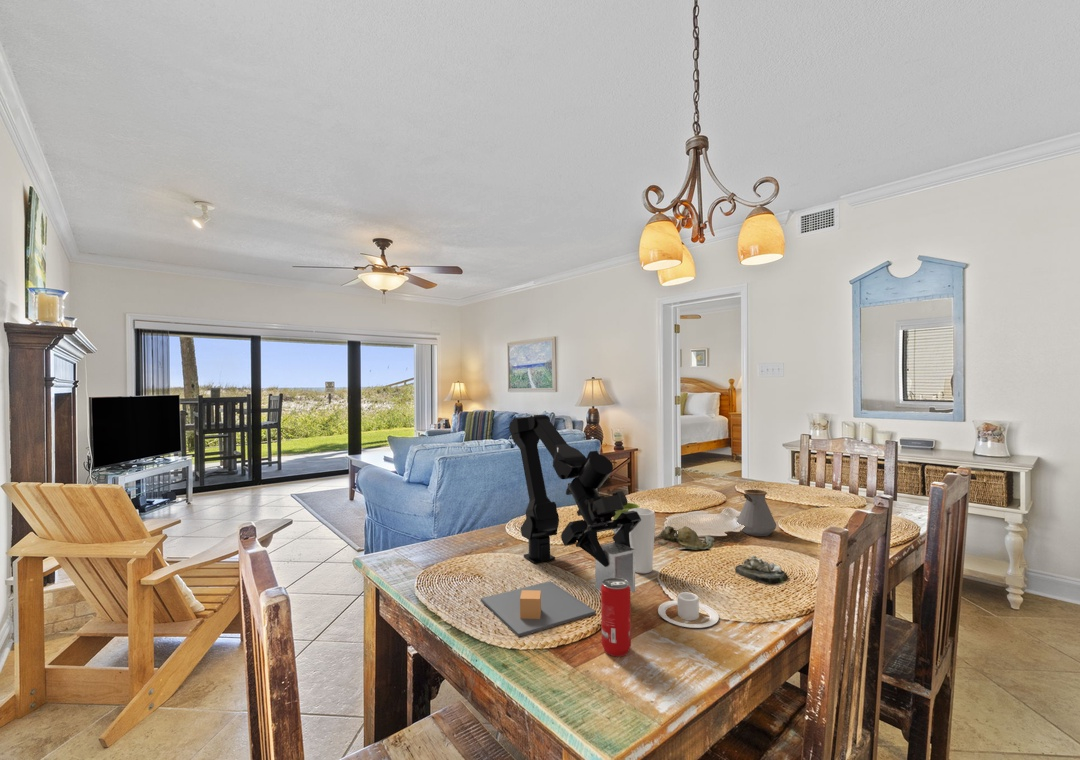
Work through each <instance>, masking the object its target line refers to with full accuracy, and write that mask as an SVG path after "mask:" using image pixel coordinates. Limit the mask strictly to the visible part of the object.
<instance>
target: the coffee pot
mask: <svg viewBox="0 0 1080 760" xmlns="http://www.w3.org/2000/svg"><path fill="white" fill-rule="evenodd" d="M743 492H744V494H742V495H740V500H741V501H742V502H744V504H743V507H742V509H741V510H740V513H739V514H738V518H737V519H736V523H737V522H738V523H739V524H741V525H744V526H745V527H744V528H743V529H742V532H743V533H744V534H746V535H750V536H754V537H755V536H756V537H768V536H769V535H771V534H772V533H774V531H775V530H776V528H777V522H776V520H775V518H774V516H773V514H772V512H771V510H770V507H769V505H768V503H767V501H766V495H768V492H767V491H765V490H761V489H744V490H743ZM742 496H743V497H744V499H745V500H743V499H742Z"/></svg>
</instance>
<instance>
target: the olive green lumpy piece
mask: <svg viewBox="0 0 1080 760" xmlns="http://www.w3.org/2000/svg"><path fill="white" fill-rule="evenodd" d="M677 531H678V534H677ZM655 539H662V540H666V541H668V542H670V543H676V544H678V545H680V546H682V547H683V548H679V549H678V548H677V550H678V551H679V550H681V551H682V550H695V551H696V550H697V551H698V550H706V549H708V550H711V549H712V547H713V546H714V545H713V544H714V541H716V539H715V538H714V537H712V536H711V535H705V538H699V535H698V534H697V532H696V531H695V530H694V529H693V528H691V527H688V526H683V527H682V528H678V529H676V528H675V527H673V526H671V525H667V526H665V527H664V529H663V530H661V531H660V533H659V534H658V535H656V536H655ZM657 543H658V544H660V545H662V546H663V547H664V546H665V545H666V542H660V541H657ZM666 548H669V549H673V547H672V546H668V545H666Z"/></svg>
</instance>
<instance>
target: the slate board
mask: <svg viewBox="0 0 1080 760" xmlns="http://www.w3.org/2000/svg"><path fill="white" fill-rule="evenodd" d="M522 590H537V591H541V615H540V619H520V596H521V592H522ZM480 601H481V602H482V604H483V605H484V606H485V607H487V608H488V609H489V610H490V612H492V613H493V614H494V615H495V617H497V618H498V620H500V621H501V622H502V623H503V624H504V625H505V626H506V627H507V628H509V630H511V631H512V632H513V634H515V635H516V636H517V638H520V637H522V636H523V637H524V636H526V635H527V636H528V635H530V634H533V633H537V632H541V631H543V630H546V629H550V628H553V627H556V626H557V627H558V626H559V625H564V624H566V623H571V622H574V621H577V620H580V619H583V618H587V617H590V616H593V615H596V613H597V611H596V609H593V608H592V607H590V605H588V604H586V603H584V602H583V601H582V600H580V599H578V598H577V597H575V596H574V595H572V594H571V593H569V592H568V591H567V590H565V589H564V588H562V587H560V586H559V585H557V584H556V583H554V582H553V581H551V580H550V581H545V582H541V583H537V584H533V585H528V586H524V587H521V588H518V589H517V588H516V589H513V590H509V591H505V592H499V593H497V594H492V595H488V596H484V597H481V598H480Z"/></svg>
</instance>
